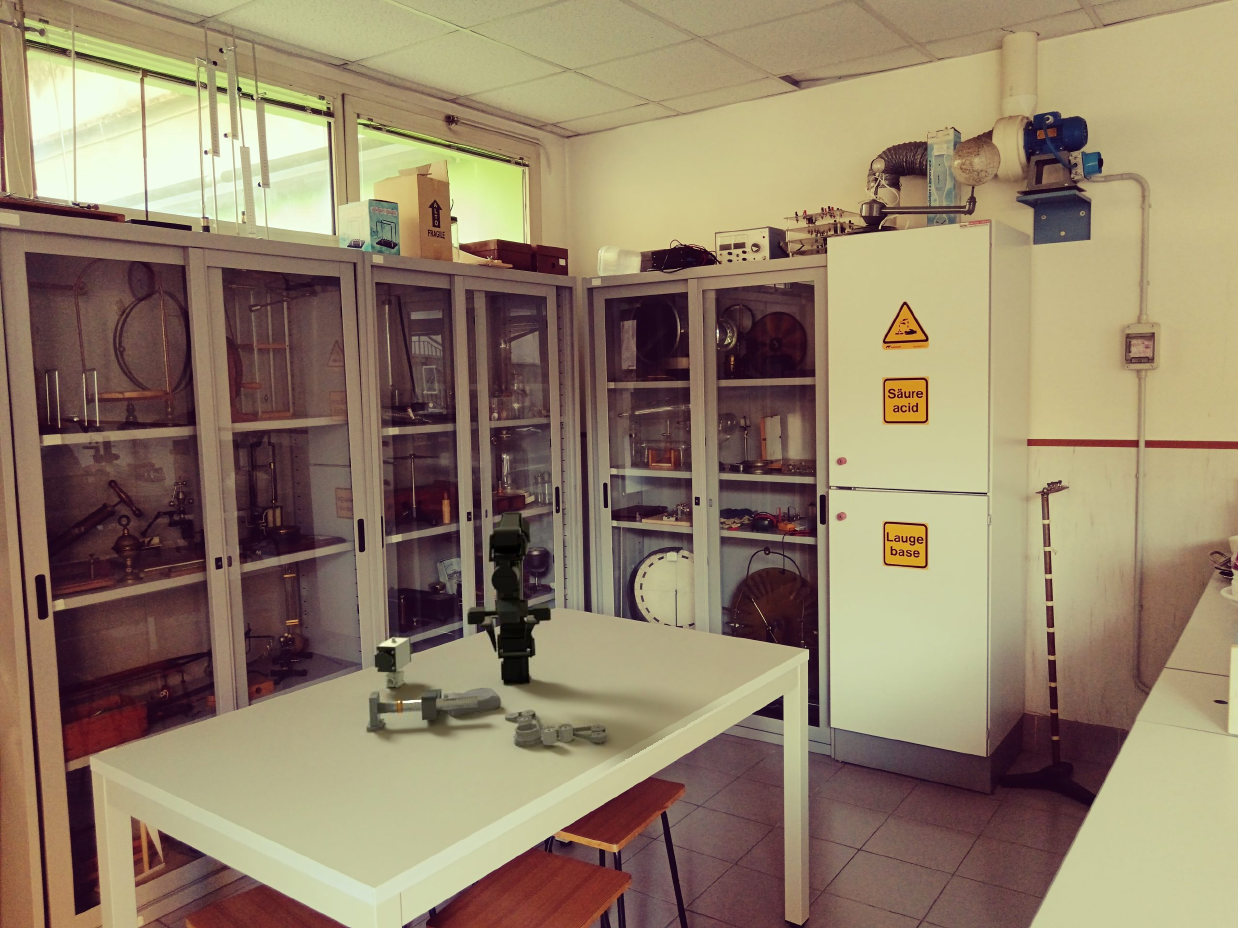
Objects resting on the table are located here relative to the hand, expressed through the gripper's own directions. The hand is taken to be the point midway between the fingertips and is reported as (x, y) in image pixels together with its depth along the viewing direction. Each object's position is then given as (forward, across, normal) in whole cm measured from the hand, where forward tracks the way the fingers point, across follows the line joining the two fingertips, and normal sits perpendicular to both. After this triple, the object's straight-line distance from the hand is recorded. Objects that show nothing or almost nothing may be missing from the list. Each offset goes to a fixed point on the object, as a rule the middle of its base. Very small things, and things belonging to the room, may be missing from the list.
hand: (510, 650), depth 206 cm
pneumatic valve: (+12, -29, +18) cm, 36 cm away
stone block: (+13, -10, -1) cm, 16 cm away
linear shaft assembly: (+12, -19, -10) cm, 25 cm away
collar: (+11, -18, -5) cm, 21 cm away
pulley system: (+13, +6, -21) cm, 26 cm away
